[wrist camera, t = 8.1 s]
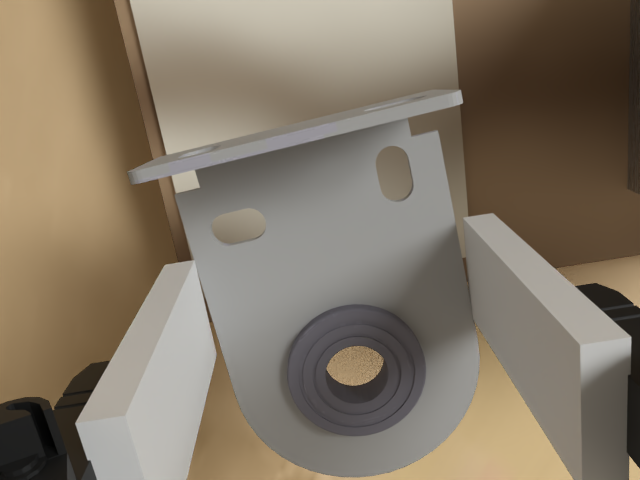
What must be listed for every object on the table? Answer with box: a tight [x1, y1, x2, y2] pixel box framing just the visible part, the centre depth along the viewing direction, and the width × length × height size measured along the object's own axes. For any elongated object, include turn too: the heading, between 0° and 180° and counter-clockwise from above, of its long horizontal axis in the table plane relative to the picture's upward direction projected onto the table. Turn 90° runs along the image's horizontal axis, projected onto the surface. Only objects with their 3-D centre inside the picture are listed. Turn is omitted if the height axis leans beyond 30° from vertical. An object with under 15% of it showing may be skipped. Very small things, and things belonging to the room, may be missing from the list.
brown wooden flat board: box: [114, 0, 640, 322], centre depth 20 cm, size 14×22×2 cm, turn 99°
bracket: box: [127, 90, 480, 477], centre depth 14 cm, size 7×10×4 cm, turn 14°
